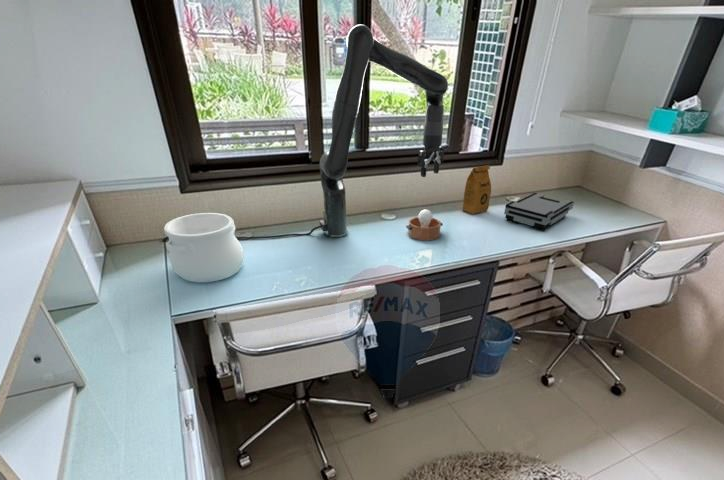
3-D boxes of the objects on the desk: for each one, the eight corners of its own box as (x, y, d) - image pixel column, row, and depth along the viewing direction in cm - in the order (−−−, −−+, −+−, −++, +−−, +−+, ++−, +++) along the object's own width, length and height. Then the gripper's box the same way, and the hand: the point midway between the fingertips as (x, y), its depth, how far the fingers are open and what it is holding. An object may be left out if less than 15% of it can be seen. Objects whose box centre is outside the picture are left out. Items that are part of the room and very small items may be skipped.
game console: (570, 215, 204) (575, 199, 199) (543, 233, 185) (547, 215, 180) (531, 206, 215) (535, 190, 210) (502, 221, 196) (505, 204, 191)
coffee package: (490, 212, 206) (498, 167, 193) (472, 216, 200) (479, 170, 187) (477, 206, 212) (484, 162, 199) (459, 210, 207) (465, 165, 194)
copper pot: (414, 242, 172) (414, 230, 169) (400, 230, 183) (401, 219, 179) (447, 237, 178) (448, 225, 174) (433, 226, 188) (434, 214, 185)
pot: (203, 294, 134) (188, 244, 124) (158, 274, 144) (141, 227, 134) (261, 265, 152) (253, 219, 142) (218, 249, 162) (207, 206, 152)
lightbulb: (421, 237, 177) (423, 213, 170) (414, 232, 181) (416, 208, 175) (433, 235, 179) (435, 211, 173) (426, 230, 183) (428, 206, 177)
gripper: (436, 129, 168) (433, 170, 178) (414, 133, 160) (412, 176, 169) (451, 132, 164) (446, 173, 174) (429, 136, 156) (425, 179, 165)
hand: (429, 174), depth 171 cm, fingers open, 8 cm apart
